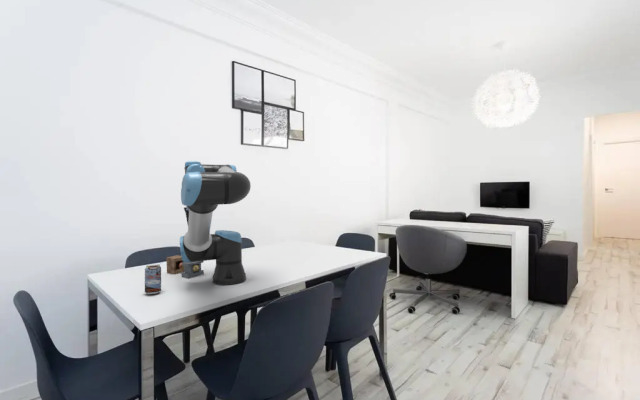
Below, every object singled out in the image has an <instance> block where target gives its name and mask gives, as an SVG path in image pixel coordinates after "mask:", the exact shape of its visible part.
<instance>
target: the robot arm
mask: <svg viewBox="0 0 640 400" xmlns="http://www.w3.org/2000/svg"><path fill="white" fill-rule="evenodd" d="M251 186H252V185H251V181H250V178H248V176H247V175H246V174H244V173H242V172H238V170H237V167H236V165H234V164H203V163H201V161H197V160H196V161H195V160H193V161H192V160H191V161H190V160H188V161H185V163H184V175H183V176H182V181H181V189H180V199H181V204H182V205H183V206H185V207H183V210H184V213H185V217H186V222H187V232H186V233H185V234H184V235H183V236H180V237H179V250H180V256H181V257H182V260H183V262H198V261H203V262H205V261H206V262H207V261H215V267H214V272H213V274H212V278H211V279H212V280H211V281H212V283H213V284H214V285H218V286H219V285H220V286H228V285H237V284H241V283H243V282H245V281H246V280H247V275H246V272H245V268H244V265H243V262H242V261H243V256H242V250H243V248H242V247H243V246H242V243H243V241H242V235H241V233H240V232H238V231H234V230H226V229H225V230H224V229H223V230H222V229H221V230H219V229H217V230H215V232H214V233H212V234H211V225H212V219H213V212H214V211H216V209H217V208H218V206H219V205H231V204H236V203H239V202H241V201H242V200H244V199H245V198H246V197H247V196H248V195H249V194H250V191H251Z"/></svg>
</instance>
